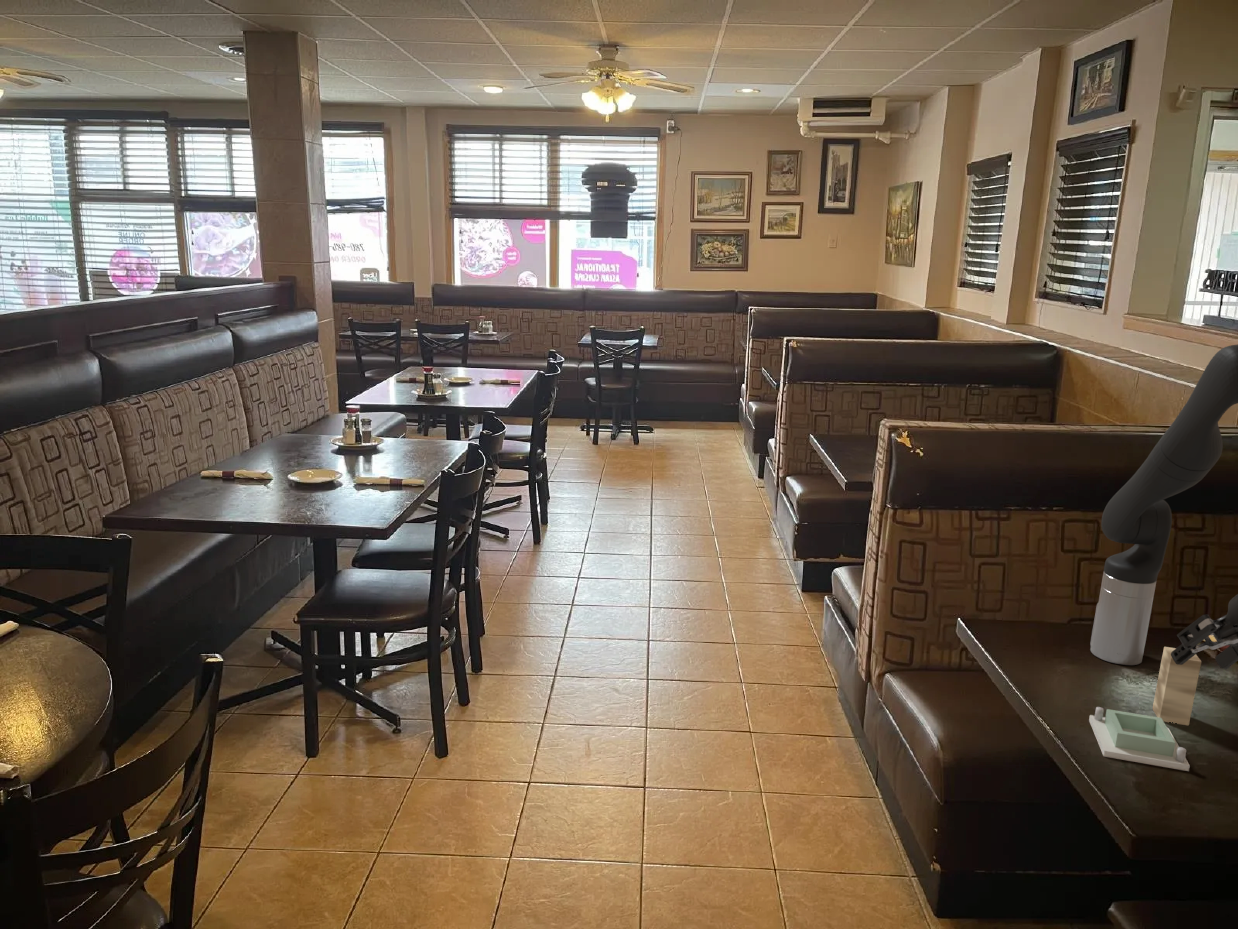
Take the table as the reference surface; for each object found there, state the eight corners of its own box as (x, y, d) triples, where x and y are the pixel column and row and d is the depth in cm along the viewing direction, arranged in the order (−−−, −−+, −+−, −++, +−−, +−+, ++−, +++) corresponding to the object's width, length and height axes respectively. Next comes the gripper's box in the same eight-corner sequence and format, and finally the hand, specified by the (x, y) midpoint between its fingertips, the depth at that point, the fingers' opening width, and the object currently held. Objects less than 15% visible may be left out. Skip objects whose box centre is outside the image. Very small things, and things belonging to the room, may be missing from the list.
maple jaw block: (1152, 708, 157) (1164, 646, 154) (1181, 713, 156) (1193, 650, 153) (1159, 721, 153) (1171, 657, 150) (1188, 725, 151) (1201, 661, 149)
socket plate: (1088, 720, 152) (1092, 701, 151) (1167, 733, 149) (1171, 714, 148) (1103, 756, 141) (1107, 736, 140) (1188, 771, 137) (1192, 751, 137)
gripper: (1298, 586, 132) (1221, 645, 143) (1220, 576, 129) (1148, 638, 140) (1329, 628, 127) (1247, 686, 138) (1249, 619, 124) (1172, 679, 135)
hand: (1197, 661), depth 139 cm, fingers open, 8 cm apart
